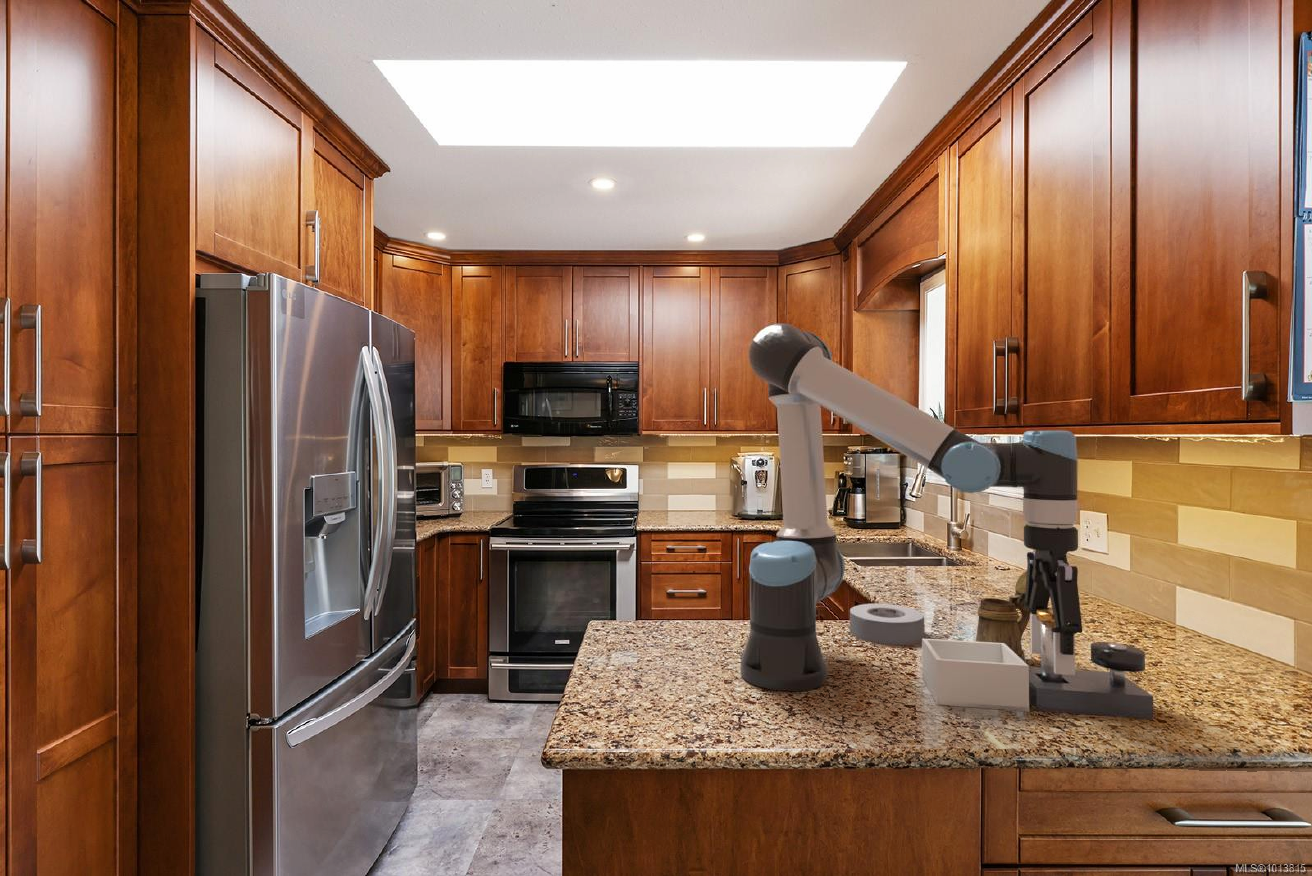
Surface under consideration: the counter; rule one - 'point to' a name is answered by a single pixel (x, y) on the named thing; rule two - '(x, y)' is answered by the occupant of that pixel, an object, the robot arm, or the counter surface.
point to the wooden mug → (1004, 619)
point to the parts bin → (975, 674)
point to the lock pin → (1047, 647)
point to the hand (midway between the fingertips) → (1051, 663)
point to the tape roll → (887, 624)
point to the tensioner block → (1096, 686)
